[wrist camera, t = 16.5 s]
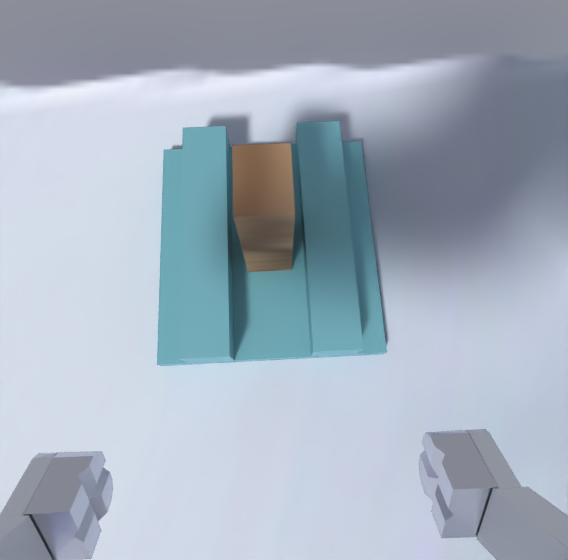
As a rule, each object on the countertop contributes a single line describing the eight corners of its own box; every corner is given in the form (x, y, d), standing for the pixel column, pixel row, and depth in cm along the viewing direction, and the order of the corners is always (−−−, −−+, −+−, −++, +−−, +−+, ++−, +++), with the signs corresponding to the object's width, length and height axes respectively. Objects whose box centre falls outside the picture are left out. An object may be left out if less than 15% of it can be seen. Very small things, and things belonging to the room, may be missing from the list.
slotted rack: (359, 148, 33) (367, 119, 30) (383, 353, 28) (396, 347, 25) (167, 157, 33) (154, 129, 29) (161, 365, 28) (145, 360, 25)
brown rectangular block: (288, 217, 30) (290, 142, 22) (291, 270, 29) (295, 214, 20) (246, 219, 30) (232, 145, 22) (248, 272, 29) (233, 216, 20)
